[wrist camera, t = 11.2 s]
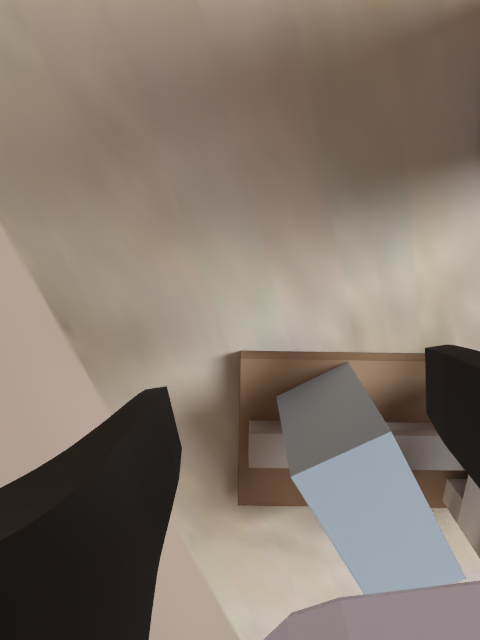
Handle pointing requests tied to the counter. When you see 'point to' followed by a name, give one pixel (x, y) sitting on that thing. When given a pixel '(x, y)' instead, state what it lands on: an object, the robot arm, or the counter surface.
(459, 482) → the board
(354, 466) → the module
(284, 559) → the counter surface
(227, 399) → the counter surface
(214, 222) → the counter surface
